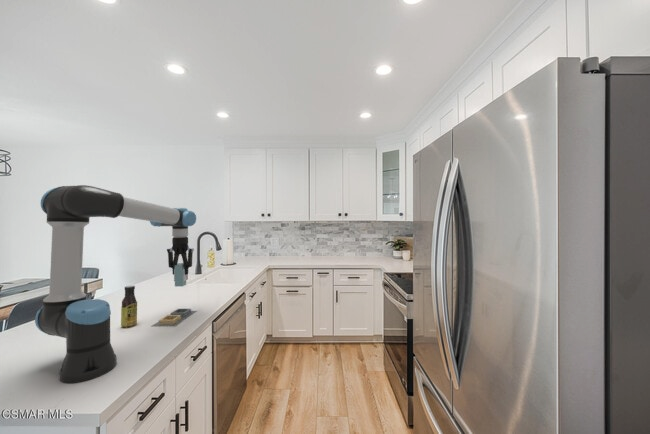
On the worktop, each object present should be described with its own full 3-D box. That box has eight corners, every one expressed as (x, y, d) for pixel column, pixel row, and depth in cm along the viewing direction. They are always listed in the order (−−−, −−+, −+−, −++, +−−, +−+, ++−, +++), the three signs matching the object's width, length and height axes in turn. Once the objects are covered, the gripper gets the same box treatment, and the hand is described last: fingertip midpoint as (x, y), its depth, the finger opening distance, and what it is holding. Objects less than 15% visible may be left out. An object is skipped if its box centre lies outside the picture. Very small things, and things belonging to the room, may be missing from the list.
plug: (182, 286, 146) (182, 264, 146) (174, 286, 146) (174, 264, 146) (186, 284, 150) (186, 262, 150) (178, 284, 150) (178, 262, 150)
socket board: (175, 328, 132) (175, 322, 132) (150, 328, 133) (150, 322, 133) (197, 312, 154) (197, 307, 154) (176, 312, 155) (176, 307, 155)
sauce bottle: (128, 330, 130) (128, 288, 130) (117, 330, 131) (117, 287, 131) (140, 325, 136) (140, 285, 136) (129, 324, 138) (129, 284, 138)
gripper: (199, 236, 152) (199, 279, 152) (168, 236, 152) (168, 279, 152) (192, 237, 144) (192, 282, 144) (160, 237, 145) (160, 282, 145)
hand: (180, 280), depth 148 cm, fingers closed on plug, 4 cm apart
